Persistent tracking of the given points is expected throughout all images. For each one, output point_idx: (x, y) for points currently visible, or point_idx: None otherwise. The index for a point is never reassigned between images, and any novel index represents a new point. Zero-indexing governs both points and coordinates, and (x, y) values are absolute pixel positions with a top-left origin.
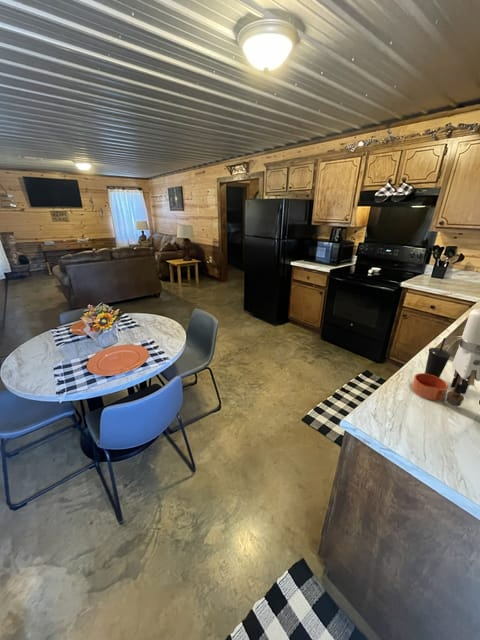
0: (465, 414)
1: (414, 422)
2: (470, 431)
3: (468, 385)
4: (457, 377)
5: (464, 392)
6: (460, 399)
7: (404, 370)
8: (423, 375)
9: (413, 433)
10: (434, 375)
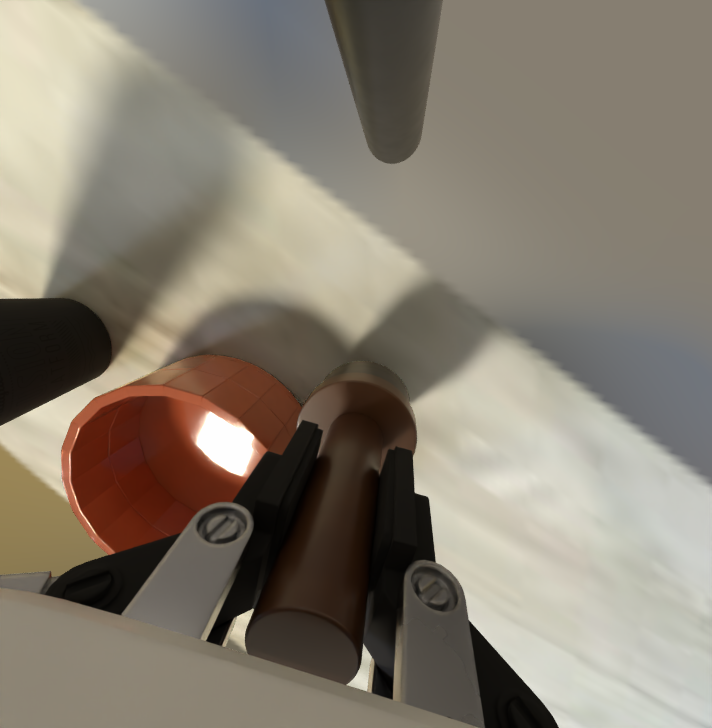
0: (444, 349)
1: (507, 657)
2: (603, 431)
3: (454, 588)
4: (251, 607)
5: (407, 465)
6: (413, 438)
7: (10, 450)
8: (85, 478)
9: (581, 700)
10: (51, 380)
